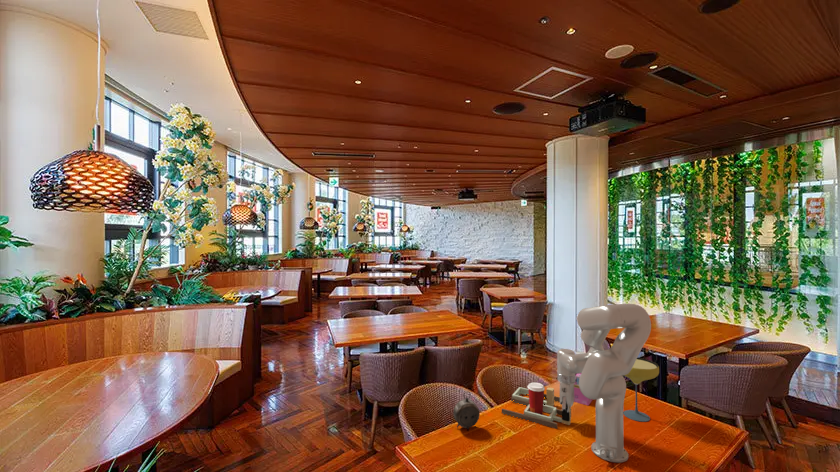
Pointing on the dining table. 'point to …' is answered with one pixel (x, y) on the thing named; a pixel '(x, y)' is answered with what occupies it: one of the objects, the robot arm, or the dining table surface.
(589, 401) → the gum box
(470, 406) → the alarm clock
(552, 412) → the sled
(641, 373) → the cocktail glass
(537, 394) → the paper cup
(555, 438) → the dining table surface
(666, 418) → the dining table surface
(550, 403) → the square frame with handle
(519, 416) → the lane rails
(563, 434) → the dining table surface
